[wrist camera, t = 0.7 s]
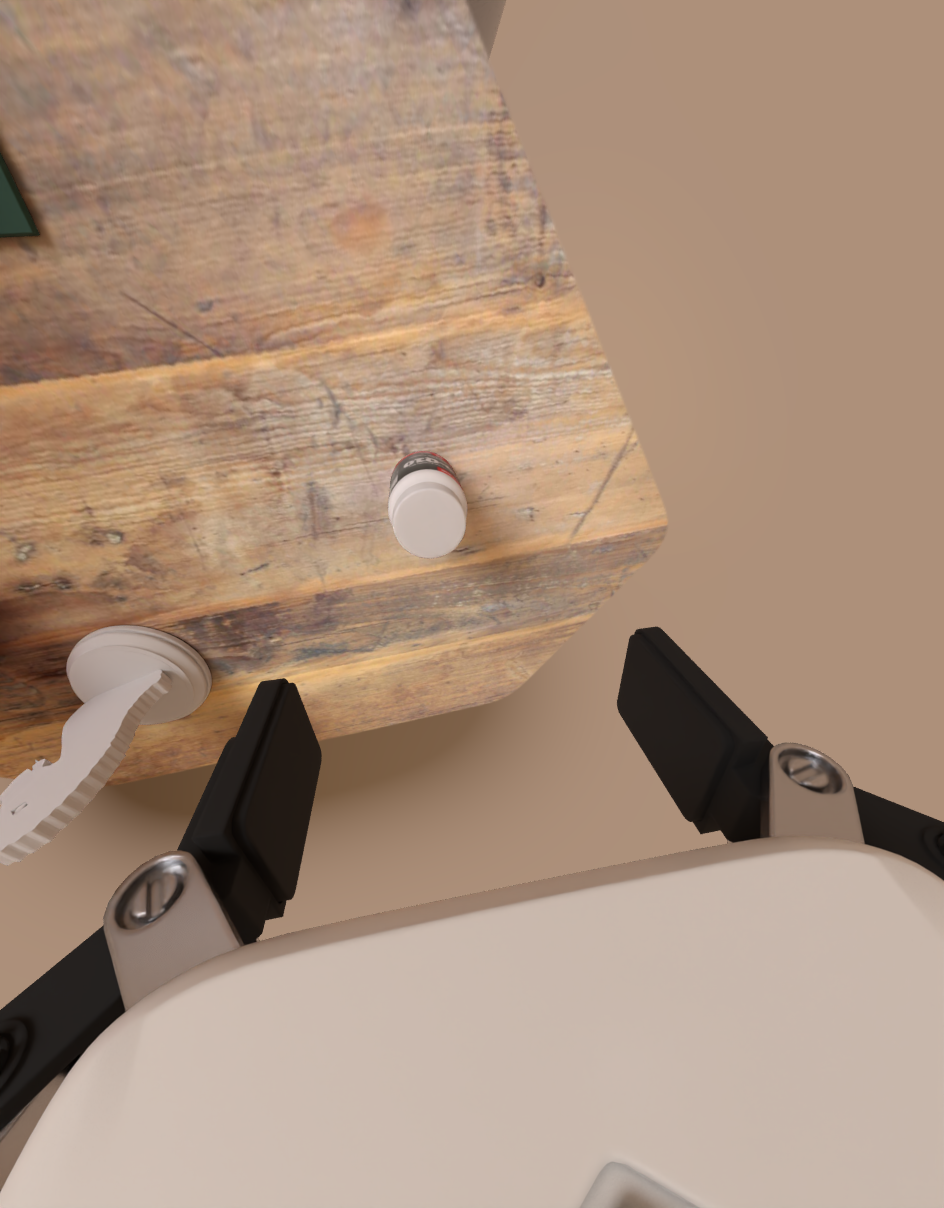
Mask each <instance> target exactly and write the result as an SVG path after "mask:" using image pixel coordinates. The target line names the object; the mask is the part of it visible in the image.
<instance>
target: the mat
mask: <svg viewBox="0 0 944 1208" xmlns="http://www.w3.org/2000/svg"><path fill="white" fill-rule="evenodd" d="M39 235H40V234H39V232H38V229H37V227H36V225H35V223H34V221H33V219H32V217H31V215H30V213H29V211H28V209H27V207H26V205H25V203H24V201H23V198H22V196H21V194H20V192H19V190H18V188H17V186H16V184H15V182H14V180H13V178H12V176H11V174H10V172H9V170H8V167H7V165H6V163H5V161H4V159H3V157H2V155H1V153H0V237H19V236H39Z"/></svg>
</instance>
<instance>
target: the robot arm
mask: <svg viewBox="0 0 944 1208" xmlns="http://www.w3.org/2000/svg"><path fill="white" fill-rule="evenodd" d="M617 707H618V710H619V713H620V715H621V717H622V718H623V720H624V721H625V723H626V725H627V726H628V728H629V730H630V731H631V733H632V734H633V736H634V738H635V739H636V741H637V742H638V744H639V745H640V747H641V749H642V750H643V752H644V753H645V755H646V757H647V758H648V760H649V762H650V763H651V765H652V766H653V768H654V770H655V771H656V773H657V774H658V776H659V778H660V779H661V781H662V782H663V784H664V786H665V787H666V789H667V790H668V792H669V794H670V795H671V797H672V798H673V800H674V802H675V803H676V805H677V806H678V808H679V809H680V811H681V813H682V814H683V816H684V817H685V819H687V820H688V821H690V822H693V823H694V824H695V826H696V827H697V829H698V831H699V832H700V834H703V833H709V832H714V831H718V830H721V831H722V833H723V834H724V836H725V837H726V839H727V844H724V845H718V846H712V847H707V848H701V849H696V850H690V851H685V852H679V853H674V854H669V855H664V856H659V857H654V858H649V859H644V860H639V861H634V862H629V863H623V864H618V865H613V866H608V867H603V868H598V869H593V870H588V871H583V872H579V873H573V874H568V875H563V876H558V877H553V878H548V879H543V880H538V881H534V882H528V883H523V884H518V885H513V886H509V887H503V888H499V889H494V890H489V891H484V892H479V893H474V894H470V895H465V896H460V897H455V898H450V899H445V900H440V901H435V902H430V903H426V904H421V905H416V906H411V907H406V908H401V909H397V910H392V911H387V912H382V913H377V914H373V915H368V916H363V917H358V918H354V919H349V920H345V921H340V922H336V923H332V924H328V925H323V926H318V927H314V928H309V929H305V930H301V931H297V932H292V933H287V934H284V935H280V936H277V937H273V938H269V939H266V940H262V941H260V940H259V938H258V937H259V936H260V935H261V934H262V932H263V928H264V924H265V920H269V919H274V918H279V917H283V914H284V909H285V905H286V900H291V899H292V898H293V896H294V894H295V890H296V885H297V880H298V875H299V870H300V865H301V861H302V855H303V851H304V845H305V841H306V836H307V831H308V825H309V820H310V816H311V811H312V806H313V801H314V796H315V790H316V785H317V781H318V776H319V770H320V765H321V749H320V746H319V744H318V741H317V738H316V736H315V733H314V731H313V728H312V726H311V723H310V720H309V718H308V715H307V713H306V710H305V708H304V705H303V703H302V700H301V697H300V695H299V692H298V690H297V687H296V685H295V684H294V683H288V681H287V680H286V679H284V678H283V679H276V680H269V681H262V682H261V683H260V684H259V686H258V688H257V690H256V692H255V695H254V697H253V699H252V701H251V704H250V706H249V708H248V710H247V713H246V715H245V717H244V719H243V722H242V724H241V726H240V728H239V731H238V733H237V735H236V737H232V738H231V739H230V740H229V741H228V742H227V744H226V745H225V747H224V749H223V752H222V754H221V756H220V758H219V760H218V762H217V765H216V767H215V769H214V771H213V773H212V776H211V778H210V780H209V782H208V784H207V786H206V789H205V791H204V793H203V795H202V797H201V799H200V802H199V804H198V806H197V808H196V810H195V813H194V815H193V817H192V819H191V821H190V824H189V826H188V828H187V830H186V833H185V834H184V836H183V839H182V841H181V843H180V845H179V847H178V849H177V851H169V852H166V853H163V854H161V855H158V856H155V857H154V858H152V859H150V860H149V861H147V862H145V863H144V864H142V865H141V866H139V867H138V868H137V869H136V870H135V871H134V872H132V873H131V874H130V875H129V876H128V877H127V878H126V879H125V880H124V881H123V883H122V884H121V885H120V886H119V887H118V888H117V890H116V891H115V893H114V894H113V896H112V898H111V899H110V901H109V903H108V905H107V908H106V911H105V914H104V918H103V919H104V925H103V926H102V927H101V928H100V929H99V930H97V931H96V932H95V933H94V934H93V935H91V936H90V937H89V938H88V939H86V940H85V941H84V942H83V943H82V944H80V945H79V946H78V947H77V948H76V949H74V950H73V951H72V952H71V953H69V954H68V955H67V956H66V957H65V958H63V959H62V960H61V961H60V962H58V963H57V964H56V965H55V966H54V967H52V968H51V969H50V970H49V971H47V972H46V973H45V974H44V975H43V976H41V977H40V978H39V979H38V980H36V981H35V982H34V983H33V984H32V985H30V986H29V987H28V988H27V989H25V990H24V991H23V992H22V993H21V994H19V995H18V996H17V997H16V998H14V1000H12V1001H11V1002H10V1003H8V1004H7V1005H6V1006H5V1007H4V1008H2V1009H1V1010H0V1208H944V822H942V821H939V820H937V819H934V818H932V817H929V816H927V815H924V814H921V813H919V812H916V811H914V810H911V809H909V808H906V807H904V806H901V805H899V804H896V803H894V802H891V801H888V800H886V799H884V798H881V797H878V796H876V795H873V794H871V793H868V792H865V791H863V790H861V789H858V788H856V787H853V785H852V782H851V780H850V777H849V775H848V774H847V773H846V772H845V770H844V769H843V768H842V767H841V766H840V765H839V764H838V763H836V762H835V761H834V760H833V759H831V758H830V757H829V756H827V755H825V754H824V753H822V752H820V751H818V750H816V749H813V748H811V747H808V746H806V745H802V744H797V743H781V744H778V745H776V746H773V745H772V744H771V743H770V742H769V741H768V740H767V738H768V737H767V736H766V735H765V734H764V733H763V732H762V731H761V730H760V729H759V728H758V727H757V726H756V725H755V724H754V723H753V722H752V721H751V720H750V719H749V718H748V717H747V716H746V715H745V714H744V713H743V712H742V711H741V710H740V709H739V708H738V707H737V706H736V705H735V704H734V703H733V702H732V700H730V698H729V697H728V696H727V695H726V694H724V693H723V691H722V690H721V689H720V688H719V687H718V686H717V685H716V684H715V683H714V682H713V681H712V680H711V679H710V678H709V677H708V676H707V675H706V674H705V673H704V672H703V671H702V670H701V669H700V668H699V667H698V666H697V665H696V664H695V663H694V662H693V661H692V660H691V659H690V658H689V657H688V656H687V655H686V654H685V652H684V651H683V650H682V649H681V648H680V647H679V646H677V644H676V643H675V642H674V641H673V640H672V639H671V638H670V637H669V636H668V635H667V634H666V633H665V632H664V631H663V630H662V629H661V628H659V627H651V628H643V629H638V630H636V632H635V634H634V635H632V636H630V639H629V643H628V648H627V653H626V659H625V664H624V669H623V674H622V679H621V684H620V689H619V695H618V700H617Z"/></svg>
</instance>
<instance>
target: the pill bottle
mask: <svg viewBox="0 0 944 1208" xmlns="http://www.w3.org/2000/svg"><path fill="white" fill-rule="evenodd" d="M388 514H389V519H390V522H391V525H392V527H393V530H394V533H395V536H396V538H397V540H398V542H399V543H400V545H401V546H402V547H403V548H404V549H405V550H406V551H408V552H409V553H411V554H413V555H415V556H418V557H421V558H438V557H442V556H444V555H447V554H448V553H450V552H452V551H453V550H454V549H455V548H456V547H457V546H458V545H459V543H460V542H461V540H462V539H463V536H464V534H465V530H466V517H467V501H466V497H465V494H464V492H463V489H462V487H461V485H460V483H459V481H458V479H457V477H456V474H455V472H454V470H453V468H452V467H451V465H450V464H449V463H448V462H447V461H446V460H445V459H444V458H443V457H441V456H440V455H438V454H436V453H433V452H429V451H417V452H413V453H411V454H408V455H407V456H405V457H404V458H402V459H401V460H400V461H399V462H398V464H397V465H396V467H395V469H394V471H393V473H392V476H391V481H390V492H389V500H388Z"/></svg>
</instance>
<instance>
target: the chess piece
mask: <svg viewBox="0 0 944 1208" xmlns="http://www.w3.org/2000/svg"><path fill="white" fill-rule="evenodd" d="M67 675H68V679H69V681H70V683H71V686H72V688H73V690H74V692H75V693H76V695H77V696H78V697H79V698H80V699H81V700H82V701H83V702H84V703H85V704H84V705H82V706H81V707H80V708H79V709H78V710H77V711H76V712H75V713H74V714H73V715H72V716H71V717H70V718H69V719H68V721H67V722H66V723H65V725H64V727H63V732H62V750H61V757H60V759H59V760H58V761H57V762H55V763H54V764H53V763H51V762H49V761H48V760H46V759H42V760H40V761H37V760H35V761H36V764H34V765H33V766H32V768H33V770H32V771H31V770H29V769H27V770H25V771H24V772H23V773H21V774H20V775H19V776H18V777H17V778H16V779H15V780H14V781H13V782H12V783H11V784H10V785H9V786H8V787H7V788H6V790H5V791H4V792H3V793H2V794H1V796H0V804H2V806H1V809H0V863H2V864H5V865H10V864H11V863H13V862H15V861H17V862H20V861H22V860H23V859H24V858H25V857H26V856H27V855H28V854H30V853H34V852H35V851H37V850H38V849H39V848H41V847H42V846H43V845H44V844H46V843H48V842H50V841H52V840H53V839H54V838H55V836H56V835H57V834H58V833H59V831H60V830H62V829H63V828H65V827H66V826H68V824H69V823H70V822H71V821H72V819H73V818H75V817H76V816H77V815H79V814H80V813H81V812H82V810H83V809H84V807H85V806H86V805H87V804H88V803H89V802H90V801H92V799H93V798H94V797H95V795H96V793H97V792H98V791H99V790H100V789H101V788H102V787H103V786H104V785H105V784H106V781H107V780H108V778H109V777H110V776H111V775H112V774H113V773H114V771H115V769H116V768H117V767H118V766H119V765H120V762H121V761H122V759H123V758H124V757H125V756H126V755H125V752H126V751H127V750H128V749H129V745H130V743H131V742H132V740H133V737H134V736H135V731H136V729H137V727H138V726H139V724H142V725H151V724H161V723H165V722H169V721H174V720H177V719H180V718H183V717H185V716H187V715H189V714H191V713H192V712H194V711H195V710H196V709H197V708H198V707H199V706H201V705H202V703H203V702H204V701H205V700H206V698H207V696H208V694H209V692H210V690H211V685H212V678H211V673H210V670H209V668H208V666H207V664H206V662H205V661H204V659H203V658H202V657H201V656H200V655H199V654H198V653H197V652H196V651H195V650H194V649H193V648H192V647H190V646H189V645H188V644H186V643H185V642H183V641H182V640H180V639H178V638H176V637H174V636H172V635H170V634H167V633H165V632H162V631H159V630H156V629H152V628H147V627H141V626H131V625H121V626H111V627H106V628H102V629H99V630H96V631H94V632H92V633H90V634H88V635H87V636H85V637H84V638H83V639H82V640H80V641H79V642H78V643H77V644H76V645H75V647H74V648H73V650H72V652H71V654H70V655H69V658H68V660H67Z"/></svg>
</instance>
